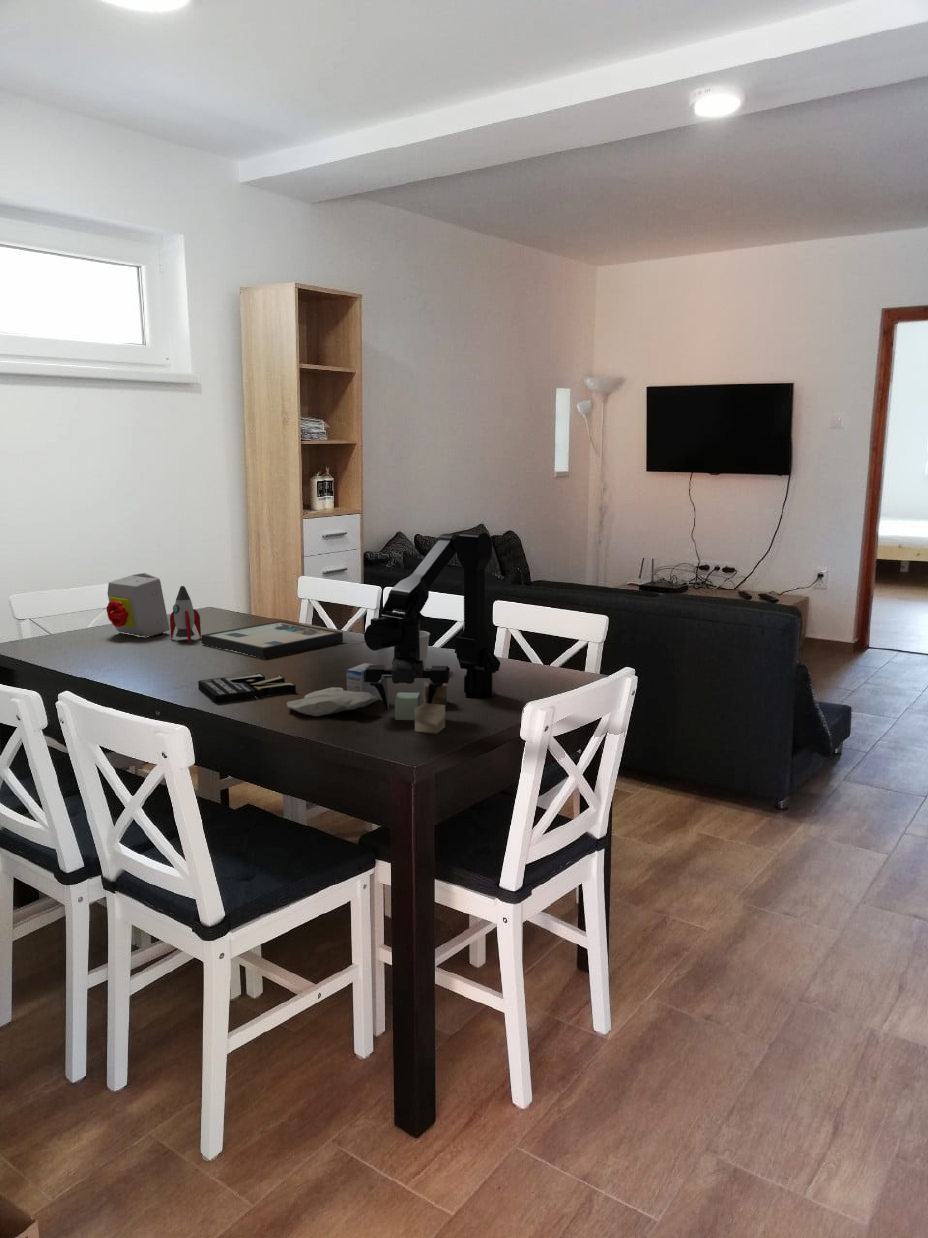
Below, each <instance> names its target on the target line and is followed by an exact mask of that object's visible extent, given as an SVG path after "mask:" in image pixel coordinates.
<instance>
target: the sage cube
mask: <svg viewBox="0 0 928 1238" xmlns="http://www.w3.org/2000/svg"><path fill="white" fill-rule="evenodd" d="M420 705H421V693H420V692H397V693H396V696H395V698H394V719H395V721H396V720H397V721H398V720H399V721H401V720H402V721H415V708H417V707H418V706H420Z"/></svg>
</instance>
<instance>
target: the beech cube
mask: <svg viewBox="0 0 928 1238" xmlns="http://www.w3.org/2000/svg"><path fill="white" fill-rule="evenodd" d="M444 728H446V706H445V705H440V704H429V703H424V702H423V703H420V706H418V707H417V708H415V720H414V732H417V733H428V734H438V733H440V732H441V731H442V730H443V729H444Z"/></svg>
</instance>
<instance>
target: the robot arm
mask: <svg viewBox="0 0 928 1238" xmlns="http://www.w3.org/2000/svg"><path fill="white" fill-rule="evenodd" d="M492 552H493V540H492V537H490V535H489V534H488V533H486V532H479V531H478V532H476V531H461V533H460V534H456V533H455V534H454V533H453V534H452V533H443V534H442V533H441V534H440V535H439V536H438V538H437V540H436V543H435V544H434V545H433V547H432V548H431V550H430V551H429V552H428V553H427V554H426V556H425V557H424V558H423V560H422V561H421V562H420V563H419V565H418V566H417V567H416V569H415V570H414V571H413V573H412V574H410V575H409V576H408V577H406V578H403V579H401V580H400V581H399V582H398V583H396V584H395V585H394V586H393V587H392V588H391V589H390V591H389V593H388V596H387V598H386V601H385V603H384V605H383V607H382V609H381V611H380V613H379V614H378V617H377V618H376V617H374V618H373V617H372V618H371V619H370V624H369V625H368V626H366V627H365V630H364V633H363V637H364V638H363V639H364V643H365V645H366V646H367V648H368V649H369V650H371V651H374V652H375V651H380V650H384V649H388V648H393V659H392V661H391V668H390V669H388V668H387V669H386V666H385V664H374V665H369V666H368V667H367V668H366V670H365V671H364V682H370V685H371V686H375V687H376V689H377V690H378V692H379V694H380V698H381V700H382V703H383V707H384V709H385V712H389V711H390V710H389V709H390V701H389V691H388V690H389V689H388V680H387V678H391V683H393V684H396V685H398V684H408V685H409V684H410V685H411V684H414V682H415V679H429V681H430V683H429V692H428V701H427V703H429V704H432V700H433V697H434V694H435V692H436V689H437V687H442V686H443V683H446V684H448V683H449V681H450V679H451V668H450V667H449V666H448V665H432V666H431V668H430V669H425V670H424V664H423V661H421V660H420V631H421V629H420V623H421V622H426V621H427V617H426V616H424V615H423V614H422V613H421V612H422V611H423V608H424V607H425V605H426V603H427V601H428V600H429V596H430V594H429V593H430V588H431V587H432V586H433V584H434V583H435V582H436V580H437V578H439V576H440V575H441V573H443V571H444V569H445V568H446V567H447V566H448V564H449V563H450V562H451V560H452V559H453V558H454V556H455V555H456V558H457V560H458V562H459V564H460V566H461V567H462V569H463V629H462V631H461V633H460V635H459V636H455V639H454V644H455V649H454V654H456V658H457V661H458V663H459V667H460V669H461V670H462V669H463V670H466V672H465V674H464V676H463V693H464V694H465V697H466V698H493V696H494V688H493V687H494V686H493V685H494V684H493V683H494V678H493V677H494V674H495V673H496V672H498V671H500V667H501V661H500V660H499V658H498V657H497V656H496V655H495V653H494V652H493V647H492V640H491V637H490V636H489V634H488V633H487V631H486V628H485V623H486V621H485V610H486V609H485V599H486V598H485V595H486V594H485V593H486V591H485V588H486V587H485V581H486V580H485V576H486V575H485V574H486V573H485V571H486V568H487V566H488V564H489V563H490V562H491V559H492Z"/></svg>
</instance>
